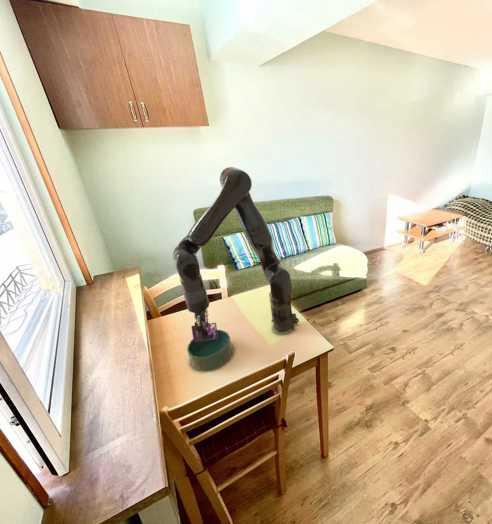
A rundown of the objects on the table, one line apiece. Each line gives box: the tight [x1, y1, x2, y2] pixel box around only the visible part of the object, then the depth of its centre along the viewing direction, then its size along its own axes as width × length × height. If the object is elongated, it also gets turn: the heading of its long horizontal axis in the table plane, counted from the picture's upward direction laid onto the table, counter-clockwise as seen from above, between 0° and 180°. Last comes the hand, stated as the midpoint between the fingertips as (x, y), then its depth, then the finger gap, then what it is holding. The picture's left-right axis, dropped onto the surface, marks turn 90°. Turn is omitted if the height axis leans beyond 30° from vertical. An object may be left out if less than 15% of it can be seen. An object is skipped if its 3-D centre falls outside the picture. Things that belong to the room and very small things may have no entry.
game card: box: [191, 322, 218, 342], centre depth 111 cm, size 7×5×9 cm
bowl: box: [186, 329, 234, 372], centre depth 116 cm, size 16×16×7 cm
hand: (206, 332), depth 111 cm, fingers closed on game card, 4 cm apart
